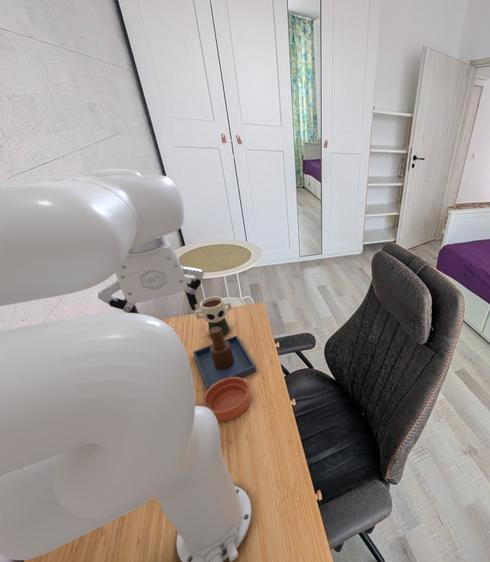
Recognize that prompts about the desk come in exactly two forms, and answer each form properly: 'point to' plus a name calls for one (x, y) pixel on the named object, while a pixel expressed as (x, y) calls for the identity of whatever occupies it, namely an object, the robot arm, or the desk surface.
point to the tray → (238, 369)
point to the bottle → (220, 350)
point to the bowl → (228, 398)
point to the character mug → (214, 313)
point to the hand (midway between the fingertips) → (167, 314)
